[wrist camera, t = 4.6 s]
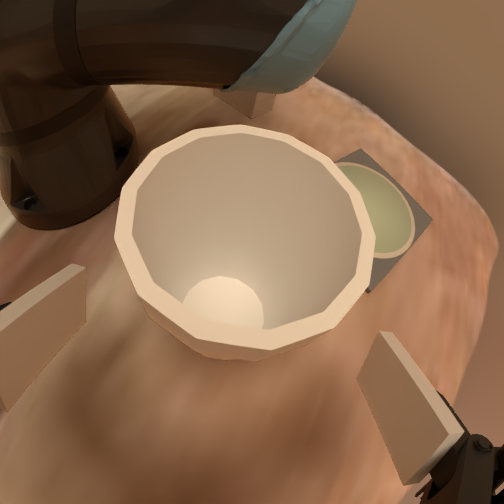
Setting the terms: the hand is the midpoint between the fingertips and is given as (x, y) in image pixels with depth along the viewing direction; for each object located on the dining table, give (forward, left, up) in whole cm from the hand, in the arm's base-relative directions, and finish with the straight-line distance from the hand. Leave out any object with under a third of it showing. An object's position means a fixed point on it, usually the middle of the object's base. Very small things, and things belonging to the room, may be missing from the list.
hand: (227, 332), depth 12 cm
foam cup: (-2, +2, -9) cm, 10 cm away
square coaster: (-2, +20, -9) cm, 22 cm away
